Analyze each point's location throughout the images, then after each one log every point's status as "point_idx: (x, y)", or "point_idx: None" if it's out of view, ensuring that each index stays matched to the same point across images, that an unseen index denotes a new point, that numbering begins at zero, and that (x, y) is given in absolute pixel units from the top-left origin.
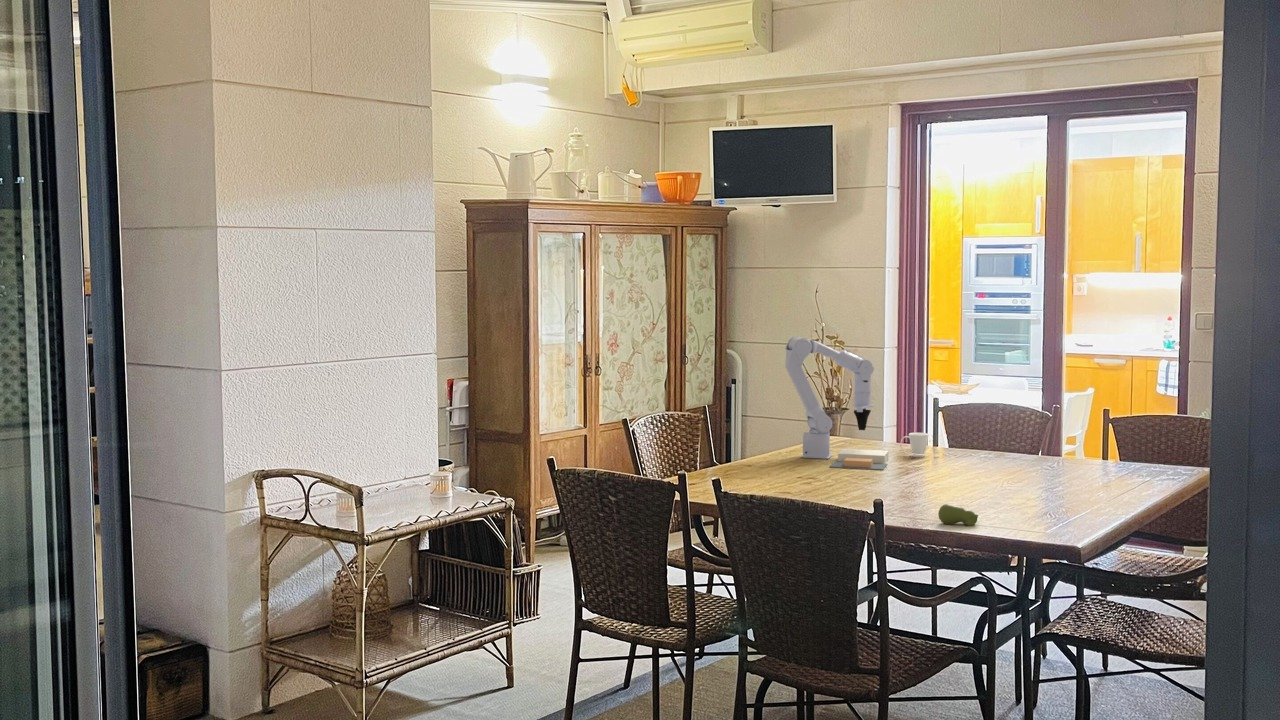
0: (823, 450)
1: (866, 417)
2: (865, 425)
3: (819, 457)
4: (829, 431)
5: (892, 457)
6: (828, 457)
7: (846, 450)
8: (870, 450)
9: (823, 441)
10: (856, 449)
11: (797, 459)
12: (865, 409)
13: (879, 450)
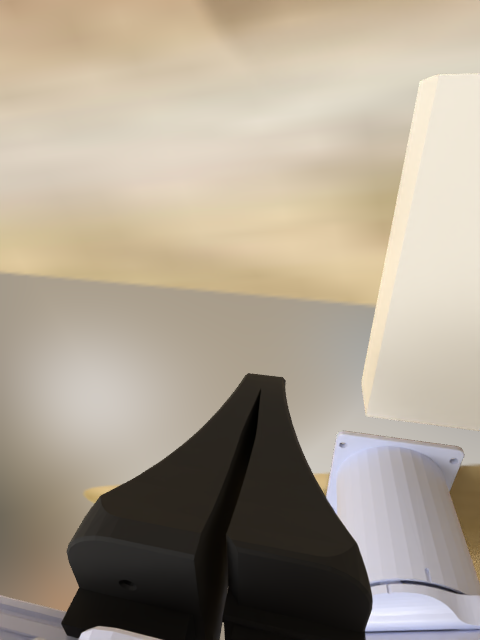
0: (452, 502)
1: (322, 493)
2: (286, 406)
3: (451, 484)
4: (441, 599)
5: (305, 57)
6: (456, 452)
7: (447, 400)
8: (430, 246)
9: (470, 557)
10: (386, 344)
11: (469, 546)
12: (99, 601)
13: (424, 169)
